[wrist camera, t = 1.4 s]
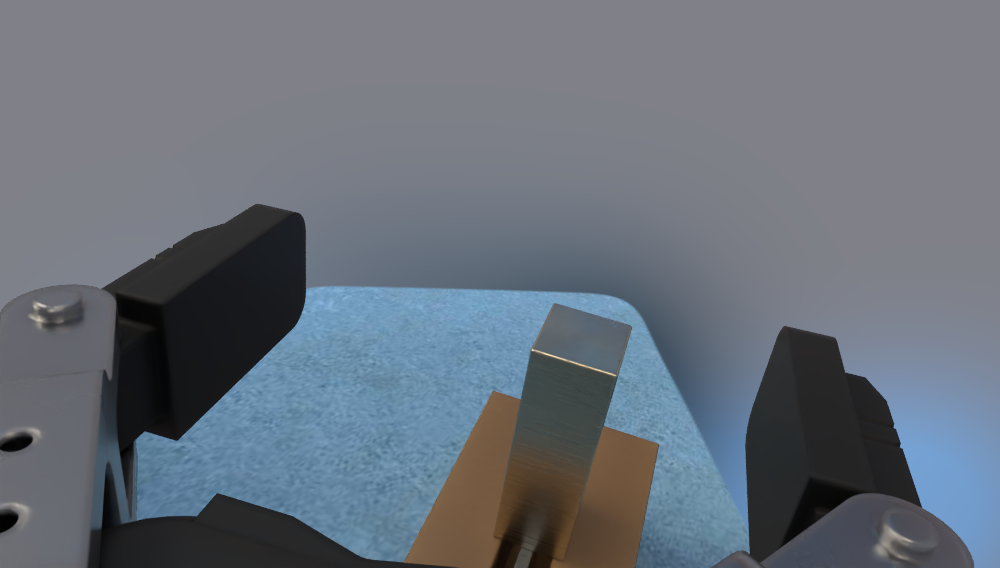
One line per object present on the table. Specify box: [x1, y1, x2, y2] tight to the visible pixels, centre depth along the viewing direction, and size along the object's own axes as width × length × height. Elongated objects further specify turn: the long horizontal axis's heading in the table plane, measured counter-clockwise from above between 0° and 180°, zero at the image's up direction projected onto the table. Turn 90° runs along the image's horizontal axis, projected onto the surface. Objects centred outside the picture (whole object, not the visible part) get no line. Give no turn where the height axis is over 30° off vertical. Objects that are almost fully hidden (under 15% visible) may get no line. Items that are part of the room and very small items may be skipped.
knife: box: [493, 303, 632, 568], centre depth 28 cm, size 3×9×14 cm, turn 162°
